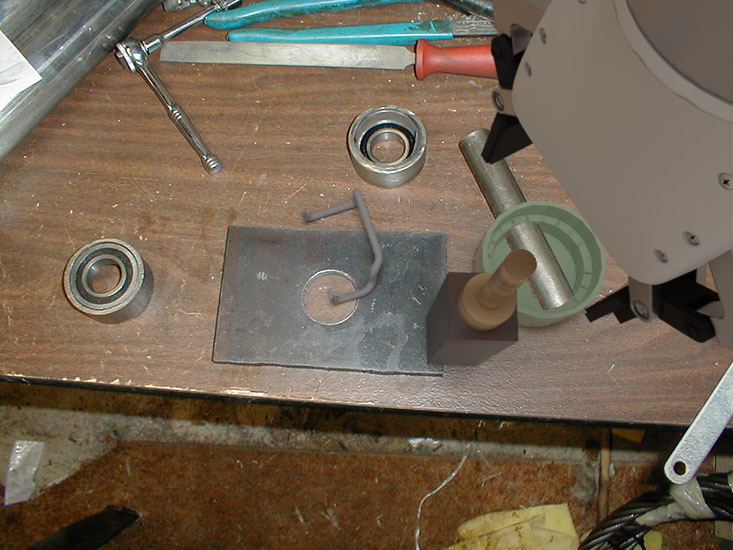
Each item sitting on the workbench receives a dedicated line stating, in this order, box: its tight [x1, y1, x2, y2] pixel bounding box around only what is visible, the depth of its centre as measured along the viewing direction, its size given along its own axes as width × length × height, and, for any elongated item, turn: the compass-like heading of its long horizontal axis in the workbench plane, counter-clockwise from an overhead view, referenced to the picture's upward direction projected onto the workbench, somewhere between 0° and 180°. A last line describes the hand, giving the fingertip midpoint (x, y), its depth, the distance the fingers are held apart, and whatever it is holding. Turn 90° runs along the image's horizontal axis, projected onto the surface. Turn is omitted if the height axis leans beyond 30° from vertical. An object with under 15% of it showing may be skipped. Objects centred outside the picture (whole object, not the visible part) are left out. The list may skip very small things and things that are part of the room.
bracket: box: [299, 188, 384, 304], centre depth 68 cm, size 13×8×5 cm, turn 18°
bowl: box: [473, 200, 608, 328], centre depth 67 cm, size 14×14×6 cm
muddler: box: [457, 249, 537, 331], centre depth 42 cm, size 4×4×13 cm
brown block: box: [426, 271, 519, 367], centre depth 58 cm, size 6×6×20 cm
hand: (557, 223), depth 29 cm, fingers open, 9 cm apart
